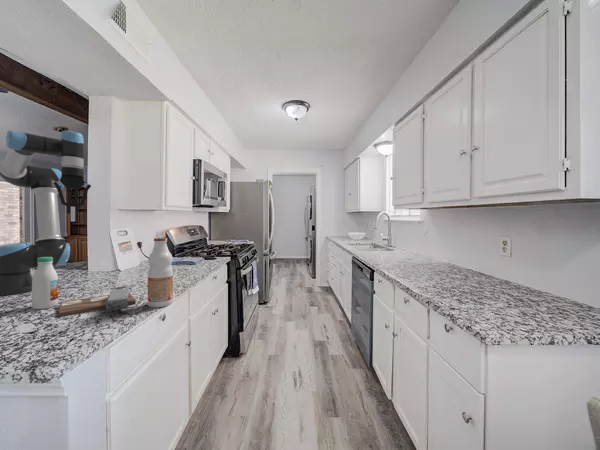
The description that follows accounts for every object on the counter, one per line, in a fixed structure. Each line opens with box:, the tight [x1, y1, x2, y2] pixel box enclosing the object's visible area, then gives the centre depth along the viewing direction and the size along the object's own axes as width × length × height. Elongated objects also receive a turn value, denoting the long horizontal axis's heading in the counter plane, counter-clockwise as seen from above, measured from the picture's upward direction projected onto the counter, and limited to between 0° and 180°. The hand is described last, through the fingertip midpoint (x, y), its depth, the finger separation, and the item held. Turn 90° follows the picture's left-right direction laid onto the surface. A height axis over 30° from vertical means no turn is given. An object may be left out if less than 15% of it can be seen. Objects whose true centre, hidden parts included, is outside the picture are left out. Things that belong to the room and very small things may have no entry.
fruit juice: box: [147, 237, 174, 309], centre depth 113 cm, size 9×9×28 cm
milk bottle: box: [31, 257, 59, 310], centre depth 108 cm, size 8×8×20 cm
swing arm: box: [105, 286, 130, 312], centre depth 110 cm, size 24×7×3 cm, turn 31°
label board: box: [58, 292, 137, 318], centre depth 112 cm, size 16×24×2 cm, turn 130°
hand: (73, 221), depth 119 cm, fingers closed
